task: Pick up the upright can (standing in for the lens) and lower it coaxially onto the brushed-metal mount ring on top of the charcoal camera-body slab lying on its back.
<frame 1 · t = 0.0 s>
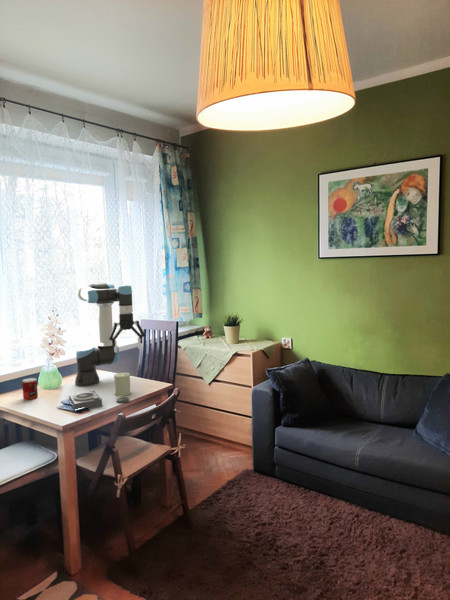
hand: (127, 350, 240), 28 cm above the table, fingers open, 13 cm apart
canned food: (30, 398, 250), on the table
lens cap: (123, 401, 240), on the table
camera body: (85, 404, 236), on the table
can: (122, 394, 254), on the table
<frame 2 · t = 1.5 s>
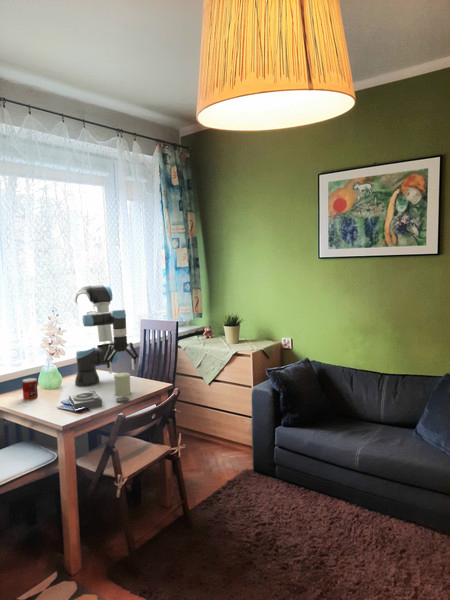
hand: (122, 371, 252), 13 cm above the table, fingers open, 13 cm apart
nothing on the table moved.
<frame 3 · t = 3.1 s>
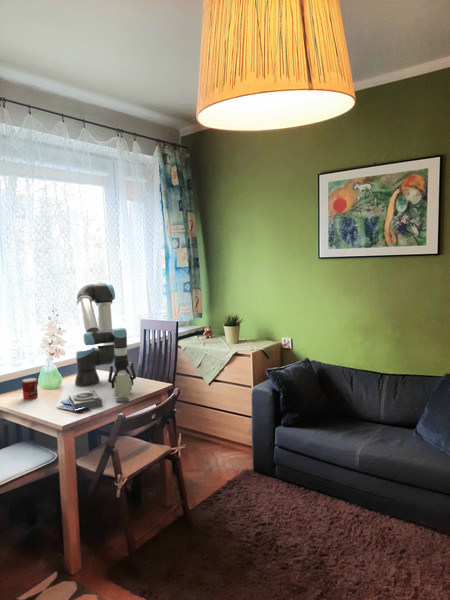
hand: (122, 392, 254), 1 cm above the table, fingers closed on can, 9 cm apart
can: (123, 394, 254), on the table, touching gripper
everything else where it was.
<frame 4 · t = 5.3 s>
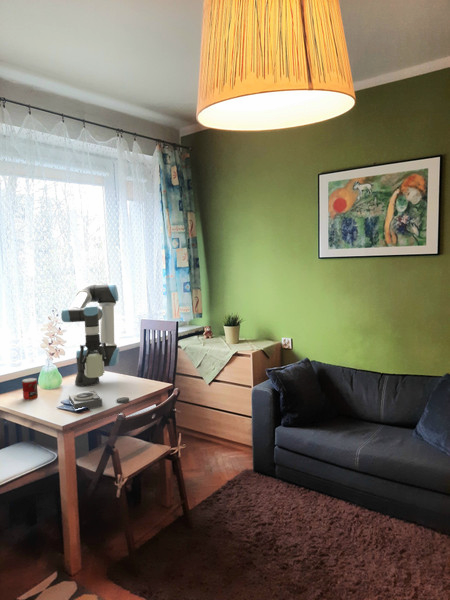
hand: (94, 373, 239), 16 cm above the table, fingers closed on can, 9 cm apart
can: (94, 375, 239), point 15 cm above the table, touching gripper
everything else where it was.
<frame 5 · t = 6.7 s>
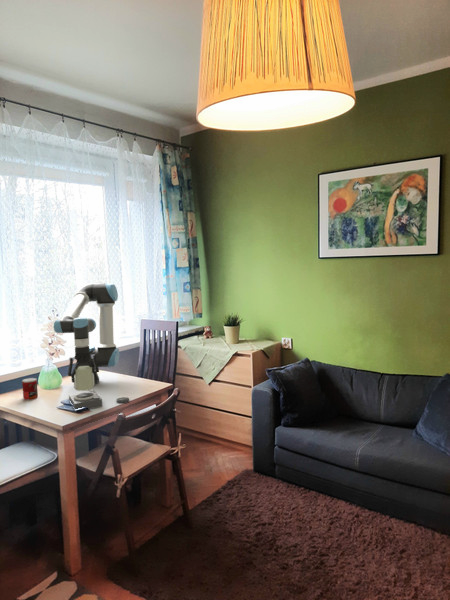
hand: (84, 386, 235), 10 cm above the table, fingers closed on can, 9 cm apart
can: (84, 388, 235), point 9 cm above the table, touching gripper
everything else where it was.
when the fingers open (7 cm above the table, at t = 7.7 s): can stays where it is, resting on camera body.
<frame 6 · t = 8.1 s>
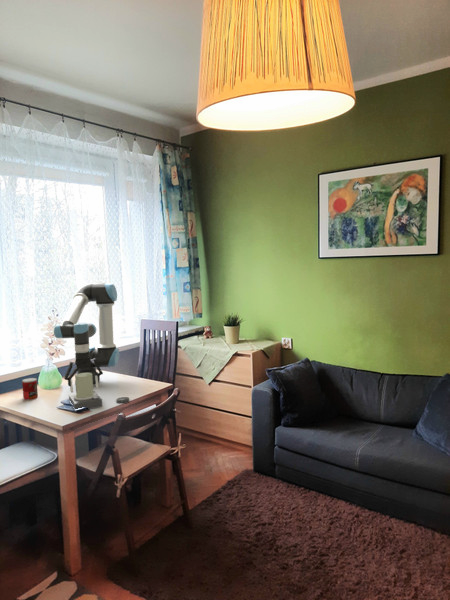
hand: (84, 389, 236), 8 cm above the table, fingers open, 13 cm apart
can: (84, 395, 236), point 5 cm above the table, touching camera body
everything else where it was.
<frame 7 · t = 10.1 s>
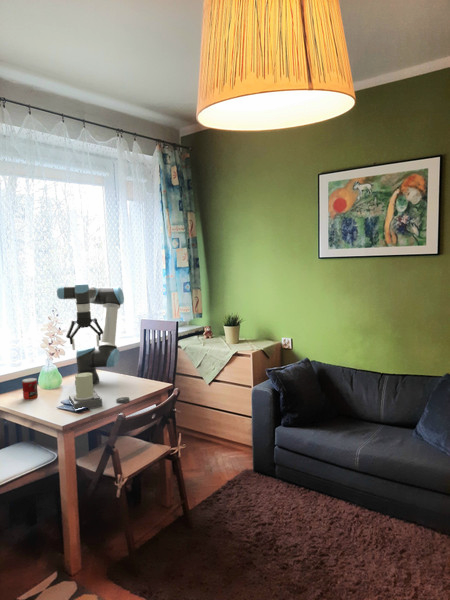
hand: (86, 348, 244), 29 cm above the table, fingers open, 13 cm apart
nothing on the table moved.
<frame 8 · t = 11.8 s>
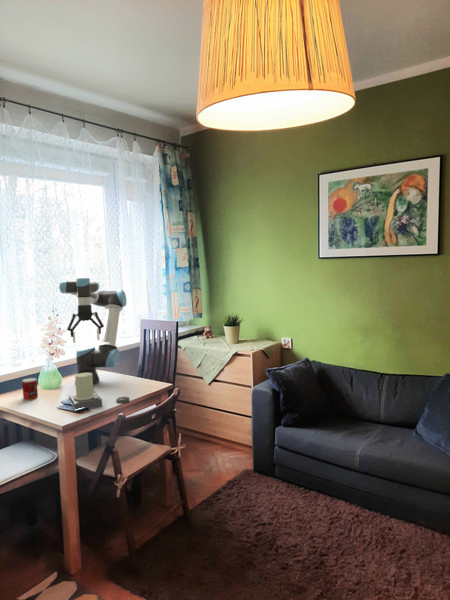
hand: (86, 341, 247), 33 cm above the table, fingers open, 13 cm apart
nothing on the table moved.
at the end: can inside the target area on the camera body (0.0 cm from its centre), point 4.8 cm above the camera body's base; can tilted 0°; the gripper is holding nothing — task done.
